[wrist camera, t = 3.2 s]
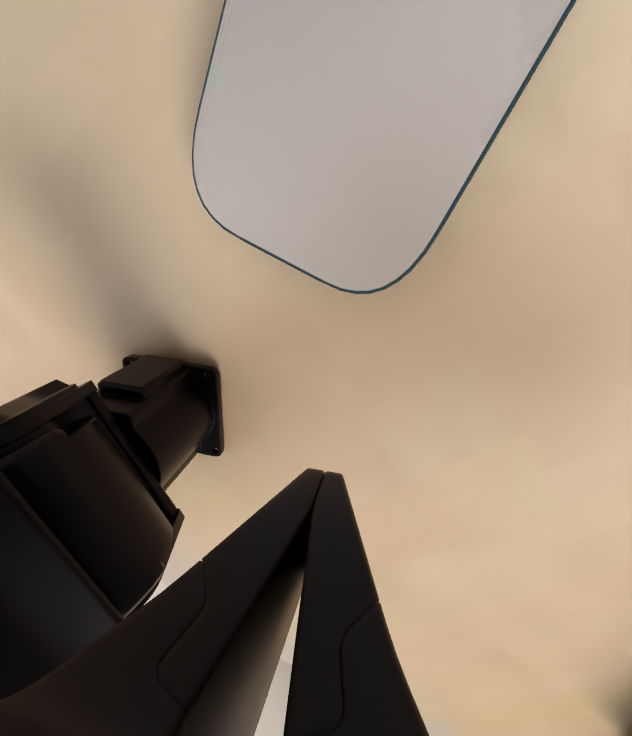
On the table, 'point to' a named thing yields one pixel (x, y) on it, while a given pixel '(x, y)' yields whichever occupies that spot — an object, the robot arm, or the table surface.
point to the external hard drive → (357, 123)
